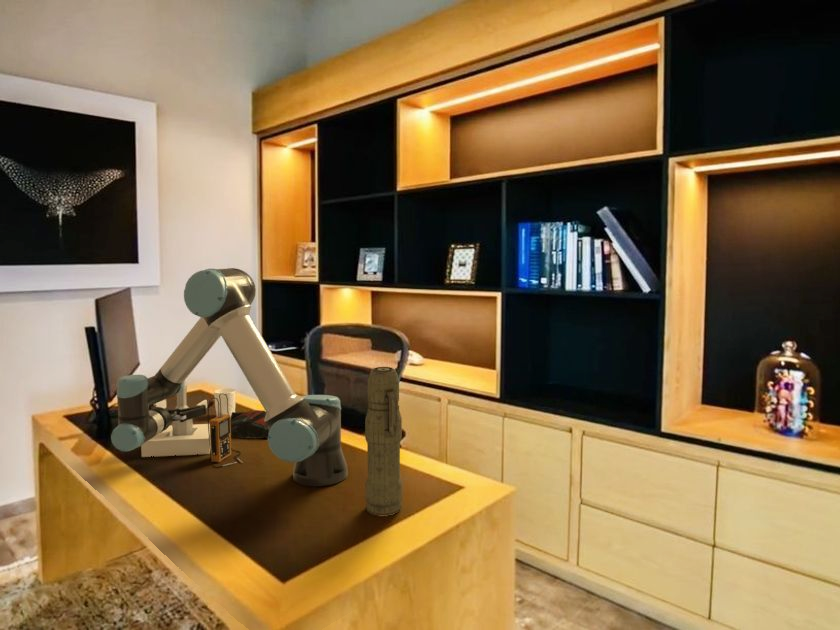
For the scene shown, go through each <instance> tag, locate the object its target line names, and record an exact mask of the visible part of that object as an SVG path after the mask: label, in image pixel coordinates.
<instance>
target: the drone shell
mask: <svg viewBox="0 0 840 630" xmlns="http://www.w3.org/2000/svg"><path fill="white" fill-rule="evenodd" d="M265 416H266V411H265V410H262V409H261V410H260V409H259V410H257V409H255V410H249V411H239V412H238V411H237V412H236V411H235V412H232V414H231V418H230V423H231V436H233V437H235V438H244V437H245V438H247V439H248V438H250V439H264V438H265V439H268V433H269V428H268V427H267V425H266V423H265V421H264V420H265ZM245 438H244V439H245Z"/></svg>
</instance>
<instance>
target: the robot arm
mask: <svg viewBox="0 0 840 630" xmlns="http://www.w3.org/2000/svg"><path fill="white" fill-rule="evenodd" d="M256 290H257V289H256V285H255V281H254V279H253V278H252V277H251V275H250V274H248V272H246V271H244V270H242V269H239V268H236V267H235V268H234V267H233V268H232V267H231V268H230V267H229V268H205V269H204V270H203V269H202V270H199V271H196V272H195V273H193V274H192V275H191V276H190V277H189V278H188V280H187V281H186V283H185V287H184V290H183V301H184V303H185V305H186V307H187V309H188V310H189V312H190V313H191V314H193V315H194V316H197V317H199V319H198V320H197V321H196V323H195V324H194V325H193V327H192V328H191V329H190V330H189V332H187V334H186V336H184V338H183V339H182V340H181V341H180V343H179V345H177V346H176V348H175V349H174V350H173V352H172V353H171V354H170V355H169V357H168V358H167V360H166V361H165V362H164V363H163V365H161V367H160V368H159V369H158V371H157V372H156V373H155V374H154V375H153V376H150V377H147V375H145V374H129V375H124V376H120V377H119V378H118V379H117V380H116V381H117V382H116V398H117V399H116V400H117V413H118V414H117V417H118V418H117V422H118V425H117V426H116V427H115V428H114V429H113V430H112V433H111V435H110V440H111V443H112V445H113V446H114V448H115V449H118V451H121V452H130V451H133V450H135V449H137V448H139V447H140V448H141V445H142V444H144V443H145V442H146V441H148V440H150V439H151V438H153V437H154V436H156V435H158V434H159V433H161V432H163V431H164V430H166V429H167V428H168V427H169V425H172V422H173V421H177V420H180V422H184V421H186V420H189V419H192V418H193V419H196V418H199V417H202V416H206V415H207V409H208V401H207V399H204V400H202V401H200V402H199V403H197V404H196V405H195V406H192V407H191V406H190V407H189V408H185V409H178V408H177V409H175V408H173V409H170V408H169V409H166V408H167V400H169V399H171V398H174V397H175V396H177V394H179V393H180V392H181V391H182V390H183V387H184V381H185V382H186V379H188V377H189V375H191V373H193V371H194V370H195V368H196V367H197V366H198V364H200V363H201V361H202V360H203V359H204V358H205V356H207V354H208V353H209V351H210V350H211V349H212V347H214V345H215V344H216V343H217V341H218V340H219V339H220V338H222V339H223V341H224V343H225V344H226V346H227V348H228V349H229V351H230V353H231V354H232V356H233V358H234V360H235V362H236V363H237V365H238V367H239V368H240V370H241V372H242V373H243V375H244V376H245V379H246V380H247V382H248V383H249V386H250V387H251V388H252V391H253V392H254V394H255V395H256V397H257V399H258V401H259V402H260V405H261V406H262V408H263V410H264V411H265V412H266V416H265V420H264V421H265V423H266V425H267V427H268V428H269V433H268V435H267V436H268V438H267V444H268V446H269V449H270V451H271V452H272V453H273V454H274V456H276V457H277V458H278V459H280V460H282V461H285V462H288V463H294V466H293V468H292V469H293V471H292V478H293V481H294V482H296V484H299V485H301V486H307V487H324V486H331V485H336V484H338V483H341V482H342V481H344V480H345V479H346V478H347V477H348V475H349V474H348V464H347V461H346V459H345V456H344V453H343V450H342V437H341V436H342V431H341V430H342V423H341V422H342V418H341V417H342V413H341V412H342V407H341V400H340V398H339V397H338V396H334V395H331V394H330V395H329V394H307V395H306V394H305V395H299V394H297V393H296V392H295V390H294V389H293V386H292V385H291V383H290V381H289V380H288V379H287V376H286V375H285V373H284V371H283V370H282V367H280V365H279V363H278V361H277V360H276V358H275V357H274V355H273V353H272V351H271V349H270V347H269V346H268V344H267V342H266V341H265V339H264V337H263V336H262V334H261V332H260V330H259V329H258V327H257V326H256V324H255V322H254V321H253V319H252V317H251V315H250V313H251V309H252V304H253V302H254V300H255V297H256V293H257V292H256ZM175 411H176V413H175ZM176 414H177V415H176Z"/></svg>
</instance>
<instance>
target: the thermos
mask: <svg viewBox="0 0 840 630" xmlns="http://www.w3.org/2000/svg"><path fill="white" fill-rule="evenodd" d="M397 372H398V371H397V370H396V369H395V368H393V367H390V366H376V367H373V368H372V369H371V370H370V372H369V375H368V378H367V402H368V404H367V412H366V415H365V418H364V419H365V421H364V424H365V427H364V428H365V431H364V432H365V433H364V435H365V441H366V443H367V478H366V481H365V501H366V507H365V508H366V509H367V510H366V511H368V512H369V513H371V514H370V515H372V514H375V515H389V514H393V513H396V512H398V511H399V510H400V509H401V510H402V500H403V481H402V479H401V474H400V473H401V447H400V446H401V441H402V440H403V439H402V438H403V435H402V432H403V430H402V429H403V423H402V422H403V421H402V420H403V418H402V415H401V412H400V405H399V401H400V379H399V376H398V373H397ZM368 512H367V513H368Z"/></svg>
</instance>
